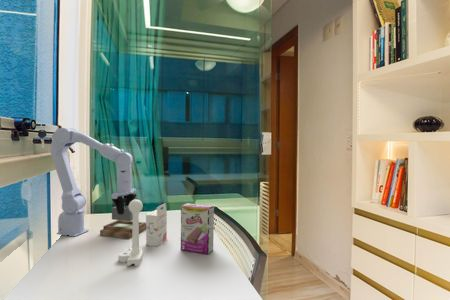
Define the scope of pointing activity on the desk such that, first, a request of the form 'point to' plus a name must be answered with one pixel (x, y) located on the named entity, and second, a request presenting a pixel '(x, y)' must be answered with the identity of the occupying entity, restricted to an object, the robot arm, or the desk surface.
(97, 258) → the desk surface
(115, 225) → the stand
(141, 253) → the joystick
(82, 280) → the desk surface
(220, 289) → the desk surface
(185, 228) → the candy bar box
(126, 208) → the housing
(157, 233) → the ink cartridge box
